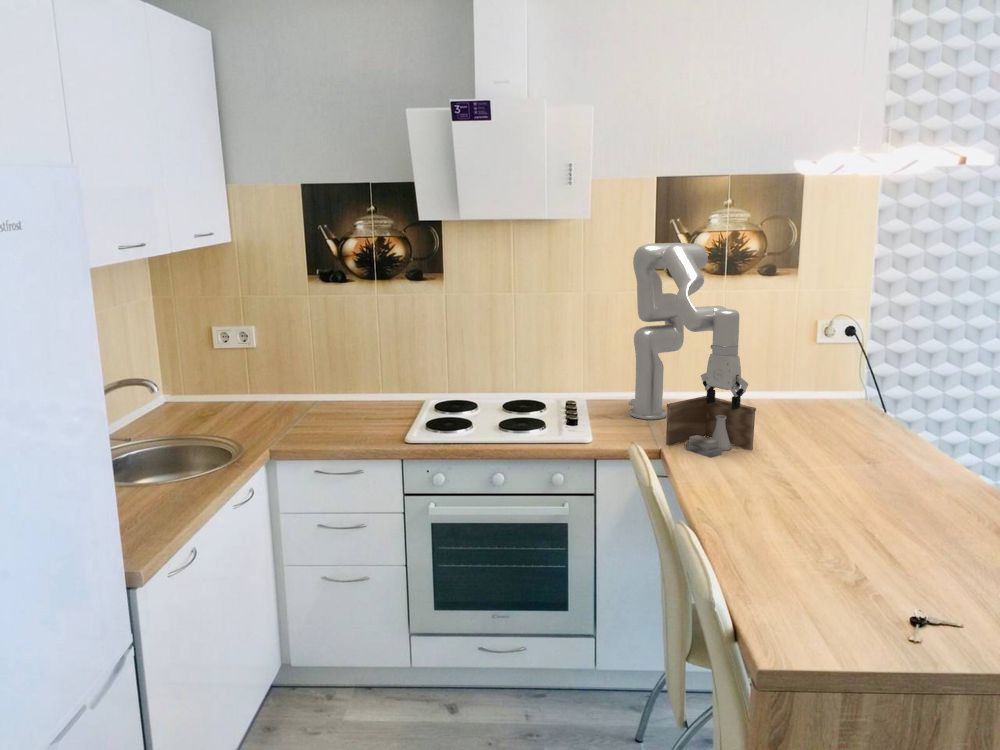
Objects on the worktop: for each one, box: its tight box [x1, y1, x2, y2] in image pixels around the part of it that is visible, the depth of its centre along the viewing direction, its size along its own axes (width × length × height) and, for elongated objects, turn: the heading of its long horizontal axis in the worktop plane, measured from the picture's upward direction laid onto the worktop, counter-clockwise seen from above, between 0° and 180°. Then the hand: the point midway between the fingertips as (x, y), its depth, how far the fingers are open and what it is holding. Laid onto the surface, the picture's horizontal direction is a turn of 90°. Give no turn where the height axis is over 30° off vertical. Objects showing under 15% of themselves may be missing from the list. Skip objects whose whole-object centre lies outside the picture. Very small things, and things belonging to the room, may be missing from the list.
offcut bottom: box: [684, 442, 723, 459], centre depth 260 cm, size 10×5×2 cm, turn 36°
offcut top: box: [688, 435, 718, 450], centre depth 259 cm, size 8×4×2 cm, turn 38°
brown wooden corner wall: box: [665, 395, 757, 451], centre depth 264 cm, size 19×18×13 cm
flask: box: [710, 415, 733, 451], centre depth 263 cm, size 7×7×10 cm
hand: (723, 405), depth 261 cm, fingers open, 9 cm apart
